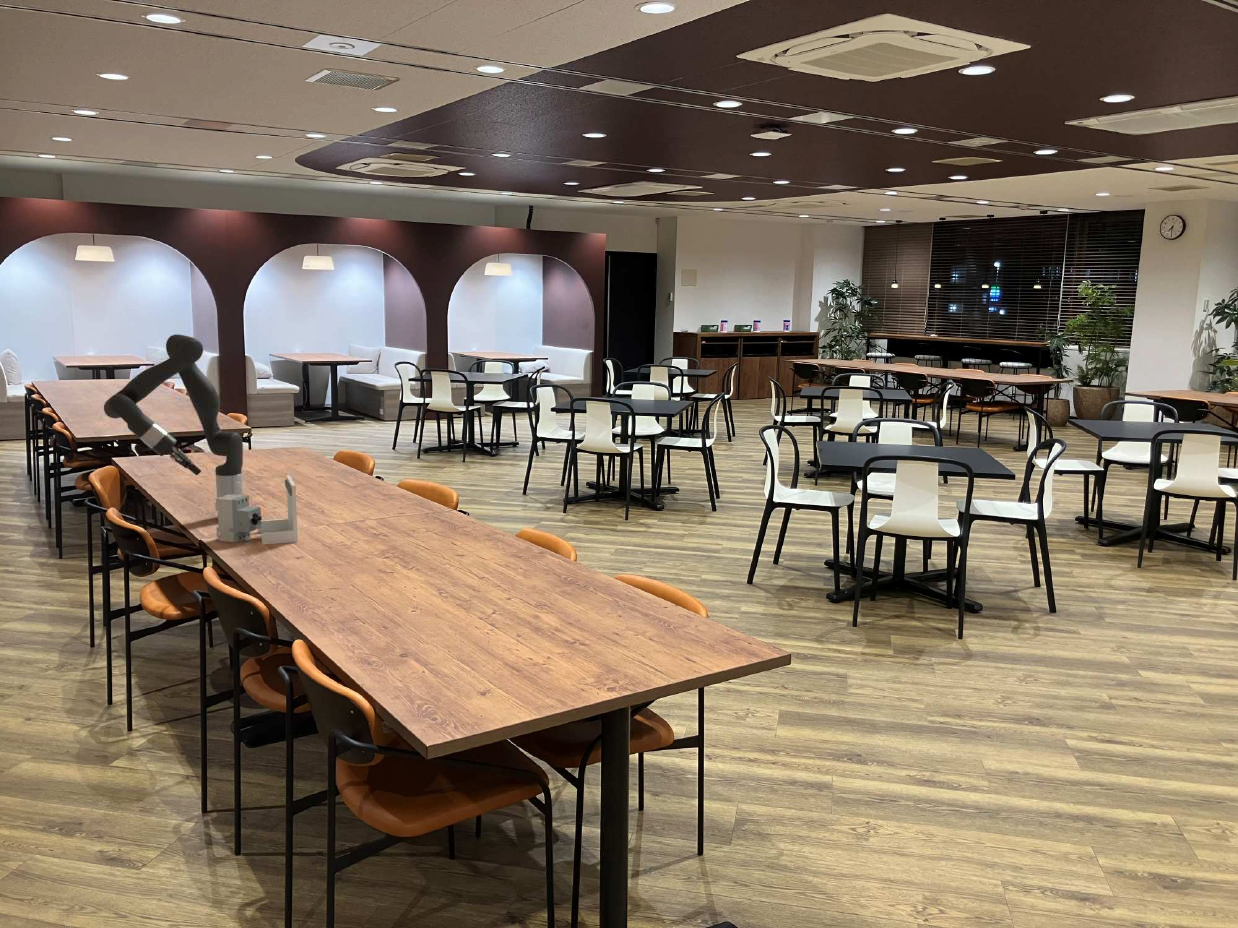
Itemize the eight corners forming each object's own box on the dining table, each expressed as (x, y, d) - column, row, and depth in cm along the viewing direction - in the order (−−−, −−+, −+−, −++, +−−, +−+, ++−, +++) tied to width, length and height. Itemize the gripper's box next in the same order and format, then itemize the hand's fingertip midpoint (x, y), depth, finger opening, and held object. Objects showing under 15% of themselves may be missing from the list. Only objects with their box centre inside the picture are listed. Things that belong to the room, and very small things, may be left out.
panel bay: (257, 531, 356) (255, 477, 352) (291, 529, 360) (289, 475, 357) (262, 544, 338) (259, 487, 334) (297, 541, 342) (295, 485, 339)
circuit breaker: (254, 543, 339) (252, 500, 337) (217, 540, 342) (214, 498, 340) (266, 538, 347) (264, 496, 344) (229, 535, 349) (227, 494, 347)
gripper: (166, 433, 328) (207, 468, 335) (166, 429, 340) (206, 462, 347) (149, 450, 327) (191, 484, 334) (150, 444, 339) (191, 477, 346)
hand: (199, 473), depth 340 cm, fingers closed
